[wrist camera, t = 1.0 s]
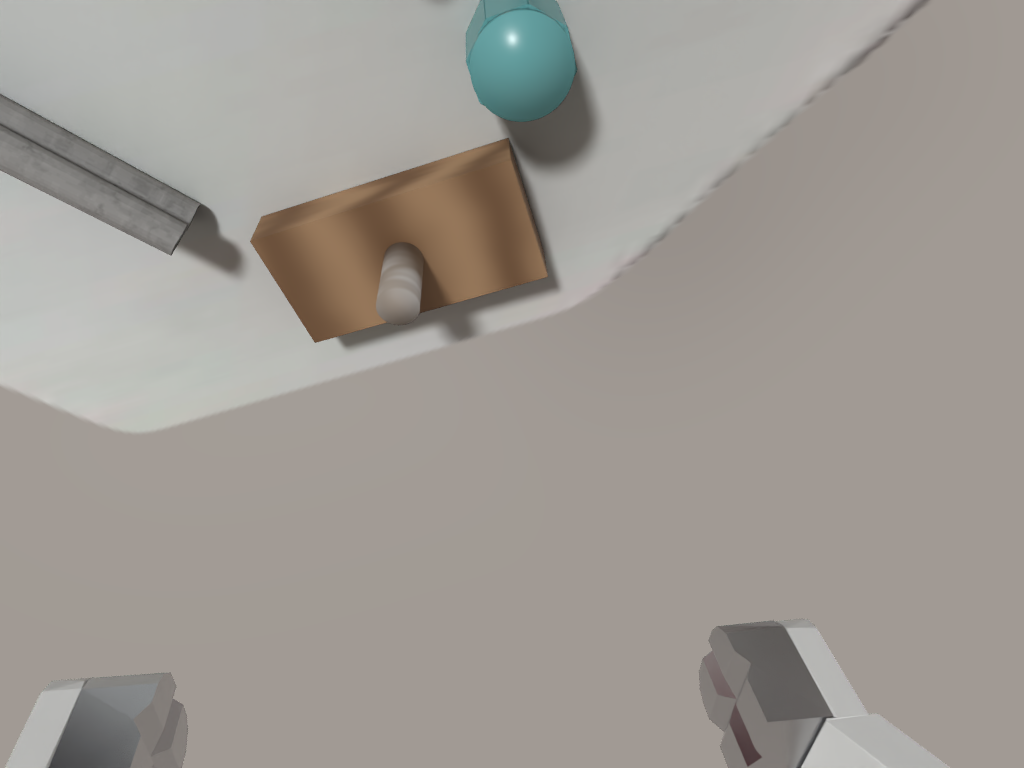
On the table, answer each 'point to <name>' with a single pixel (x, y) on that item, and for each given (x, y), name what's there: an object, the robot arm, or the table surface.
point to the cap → (520, 57)
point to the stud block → (404, 243)
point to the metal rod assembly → (91, 179)
